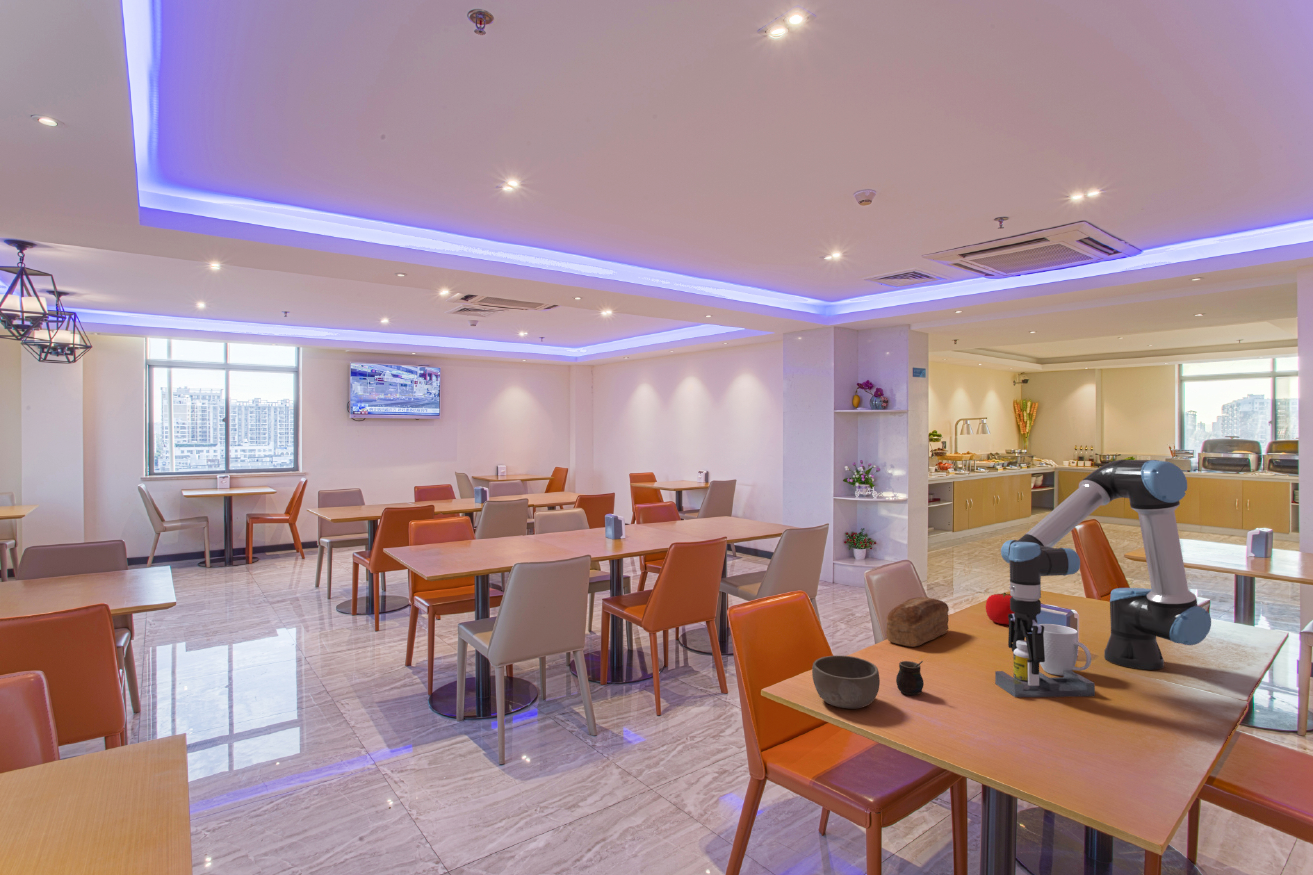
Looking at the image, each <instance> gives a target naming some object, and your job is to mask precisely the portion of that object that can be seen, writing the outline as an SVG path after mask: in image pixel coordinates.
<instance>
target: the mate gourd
mask: <svg viewBox="0 0 1313 875" xmlns="http://www.w3.org/2000/svg"><path fill="white" fill-rule="evenodd" d="M923 662H924V660H921V661H919V663H917V662H915V661H909V660H904V661H903V660H902V661H900V662H899V663H898V664H899V665H898V667H899V670H898V672H897V675H896V679H895V683H896V686H897V689H898V690H899V692H901V694H903V695H906V696H910V697H911V696H913V697H915V696H918V695H919V694H920V693H922V691H923V689H924V685H925V684H924V683H925V682H924V679H923V676H922V674H921V664H922V663H923Z"/></svg>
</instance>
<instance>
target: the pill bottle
mask: <svg viewBox="0 0 1313 875" xmlns="http://www.w3.org/2000/svg"><path fill="white" fill-rule="evenodd" d="M1016 646H1017V649H1015V650H1014V652H1013V657H1012V658H1013V661H1012V662H1013V663H1012V665H1013V666H1012V667H1013V668H1012V670H1013V671H1012V672H1013V678H1014V679H1016V680H1018V681H1019V682H1021V683H1022V684H1023V685H1028V662H1027V660H1030V659H1029V654H1028V648H1027V643H1026V639H1025V640H1018V641H1016Z"/></svg>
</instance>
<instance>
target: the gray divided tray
mask: <svg viewBox="0 0 1313 875" xmlns="http://www.w3.org/2000/svg"><path fill="white" fill-rule="evenodd" d="M994 673H995V679H994V681H995V685H997V686H998V687H1000V688H1001V689H1002V690H1004V691H1005V692H1007V693H1008V694H1009V695H1011V696H1012V697H1014V698H1048V697H1049V698H1051V697H1052V698H1056V697H1057V698H1058V697H1060V698H1061V697H1063V698H1065V697H1067V698H1069V697H1070V698H1071V697H1075V698H1076V697H1095V696H1096V691H1095V690H1096V689H1095V687H1096V685H1095V682H1093V681H1091V680H1090V679H1088V678H1086V677H1084V676H1082V675H1080V674H1079V673H1077V672H1074V670H1072V671H1071V670H1063V676H1061V677H1059V676H1058V677H1049V676H1047V675H1046V674H1043V673H1042V672H1041V671H1039V686H1029V685H1023V684H1022V683H1021V682H1019V681H1018V680H1016V679H1014V676H1011V675H1010V674H1008V673H1006V672H1005V671H1003V670H997V671H995V672H994Z"/></svg>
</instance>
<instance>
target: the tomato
mask: <svg viewBox="0 0 1313 875" xmlns="http://www.w3.org/2000/svg"><path fill="white" fill-rule="evenodd" d="M1011 597H1013V596H1011V595H1010V593H1007V592H1001V593H994V594H991V595H989V596H988V598H987V599H986V601H985V612H986V616H987V617H988V619H989V620H990V621H991V622H993V623H995V624H999V625H1005V626H1006V625H1008V626H1009V619H1008V614H1014V613H1015V612H1013V611H1011V609H1010V598H1011Z"/></svg>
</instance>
